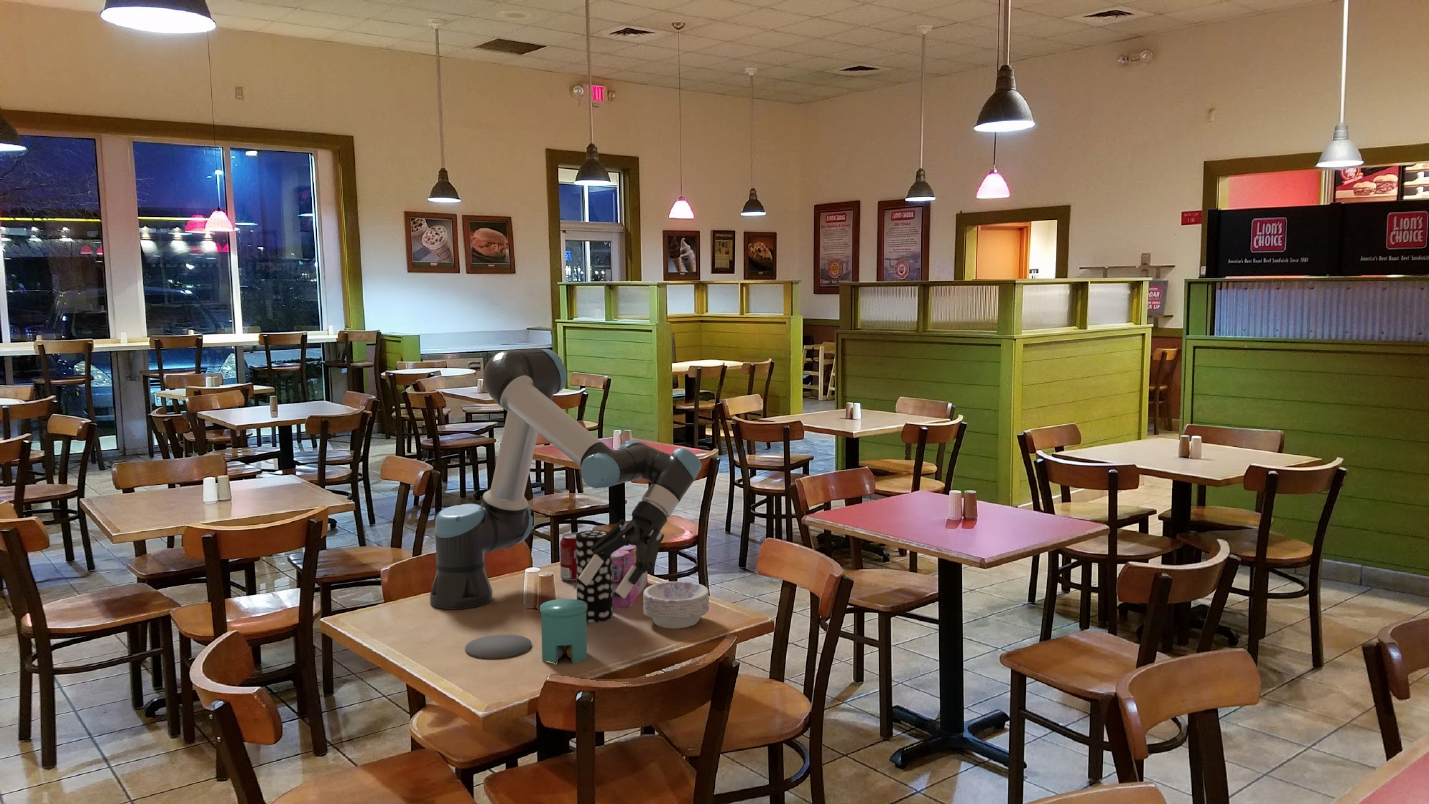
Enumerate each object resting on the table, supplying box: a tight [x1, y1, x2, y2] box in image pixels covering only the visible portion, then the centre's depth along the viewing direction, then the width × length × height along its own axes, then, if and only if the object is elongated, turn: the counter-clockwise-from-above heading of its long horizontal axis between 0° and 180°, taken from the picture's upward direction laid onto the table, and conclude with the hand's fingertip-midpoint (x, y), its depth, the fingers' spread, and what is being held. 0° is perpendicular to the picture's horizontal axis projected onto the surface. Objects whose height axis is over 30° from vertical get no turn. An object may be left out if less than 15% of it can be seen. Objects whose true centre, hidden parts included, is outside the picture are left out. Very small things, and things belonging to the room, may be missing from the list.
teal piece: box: [539, 598, 588, 665], centre depth 216 cm, size 10×10×11 cm
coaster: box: [464, 633, 532, 660], centre depth 222 cm, size 14×14×1 cm
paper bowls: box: [642, 581, 710, 630], centre depth 239 cm, size 15×15×8 cm
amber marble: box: [565, 645, 572, 659], centre depth 216 cm, size 3×3×3 cm
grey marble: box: [557, 646, 564, 660], centre depth 215 cm, size 3×3×3 cm
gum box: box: [612, 535, 649, 608], centre depth 261 cm, size 24×8×14 cm, turn 173°
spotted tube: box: [576, 529, 614, 623], centre depth 243 cm, size 8×8×20 cm
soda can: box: [559, 532, 578, 582], centre depth 276 cm, size 7×7×12 cm
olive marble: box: [561, 645, 568, 655], centre depth 219 cm, size 3×3×3 cm
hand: (600, 588), depth 221 cm, fingers open, 13 cm apart
